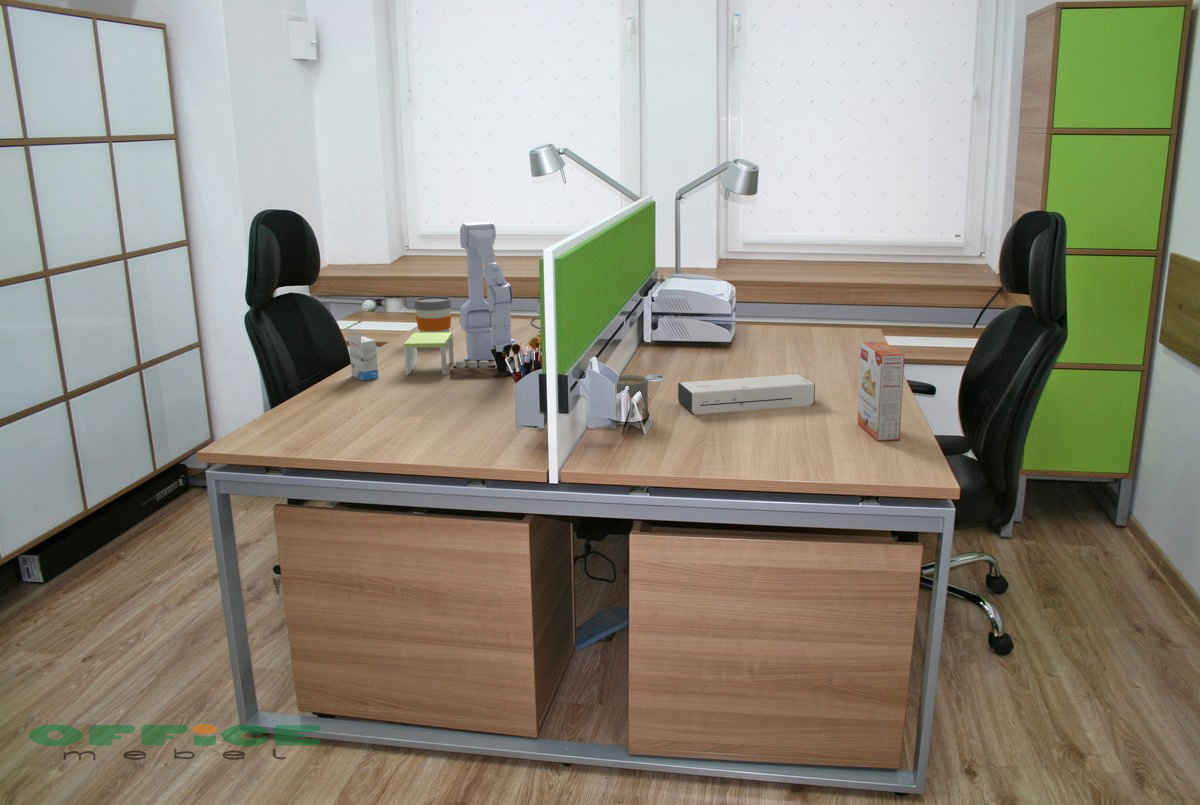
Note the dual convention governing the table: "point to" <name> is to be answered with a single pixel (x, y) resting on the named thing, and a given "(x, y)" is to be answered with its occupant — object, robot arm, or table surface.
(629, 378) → the coffee mug
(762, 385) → the laminator
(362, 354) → the ink box
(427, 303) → the reusable coffee cup
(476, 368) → the wooden slotted rack
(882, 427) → the cracker box
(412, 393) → the table surface
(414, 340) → the green top stool
